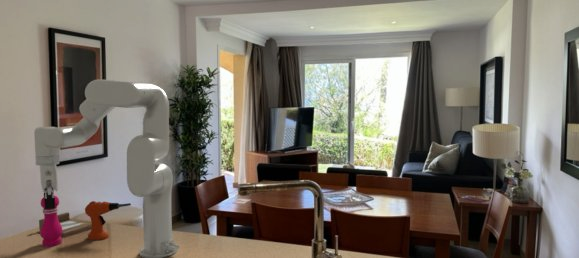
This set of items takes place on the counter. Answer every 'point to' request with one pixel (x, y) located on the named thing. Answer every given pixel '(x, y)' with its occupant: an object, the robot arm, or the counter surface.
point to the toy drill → (99, 217)
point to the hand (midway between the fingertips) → (49, 205)
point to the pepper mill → (51, 225)
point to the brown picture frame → (69, 225)
